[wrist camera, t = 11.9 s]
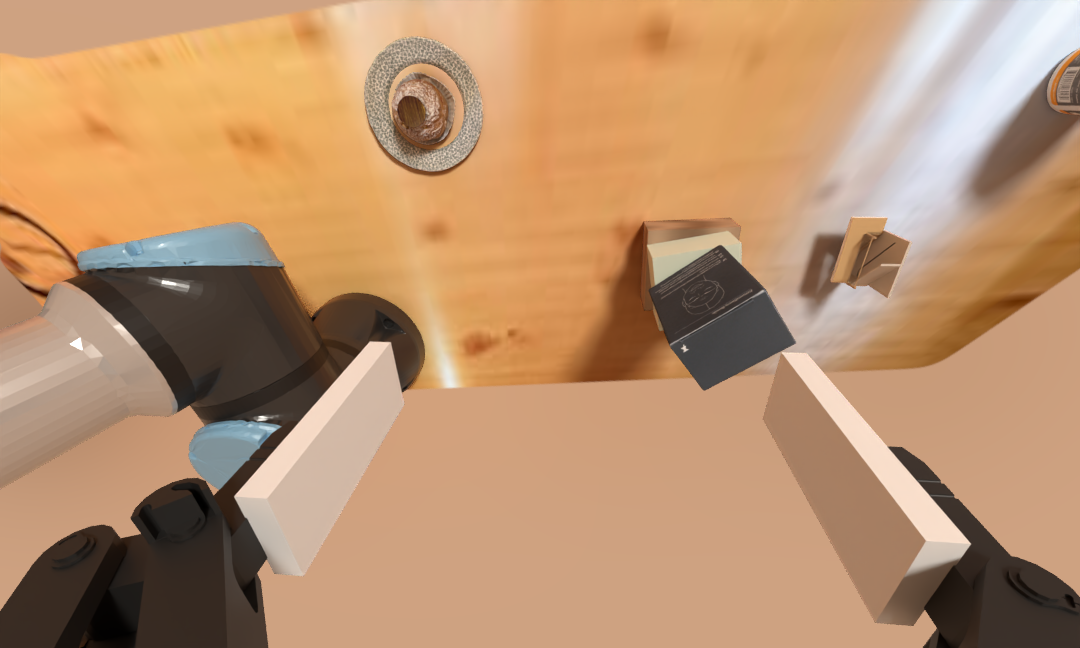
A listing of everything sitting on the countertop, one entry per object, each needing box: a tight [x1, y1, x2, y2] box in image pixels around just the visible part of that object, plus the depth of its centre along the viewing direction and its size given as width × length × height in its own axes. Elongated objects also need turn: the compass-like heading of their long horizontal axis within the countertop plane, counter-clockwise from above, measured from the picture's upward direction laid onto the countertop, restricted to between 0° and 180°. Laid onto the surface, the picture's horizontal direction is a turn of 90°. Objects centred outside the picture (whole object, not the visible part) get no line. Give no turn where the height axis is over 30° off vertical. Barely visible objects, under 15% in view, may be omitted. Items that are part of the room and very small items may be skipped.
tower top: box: [647, 231, 742, 331], centre depth 43 cm, size 8×8×4 cm
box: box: [648, 245, 796, 390], centre depth 37 cm, size 8×6×11 cm
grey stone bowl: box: [364, 36, 483, 172], centre depth 41 cm, size 12×12×5 cm
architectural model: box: [830, 217, 912, 298], centre depth 43 cm, size 3×7×7 cm, turn 1°
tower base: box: [640, 218, 741, 310], centre depth 46 cm, size 9×9×4 cm
